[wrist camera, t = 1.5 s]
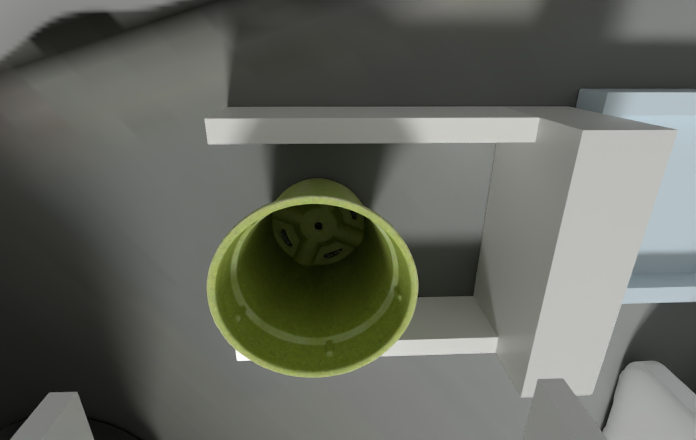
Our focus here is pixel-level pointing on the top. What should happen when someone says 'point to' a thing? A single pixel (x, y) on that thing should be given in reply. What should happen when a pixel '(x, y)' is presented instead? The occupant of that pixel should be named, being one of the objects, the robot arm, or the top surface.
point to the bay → (514, 223)
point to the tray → (661, 192)
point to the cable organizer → (651, 405)
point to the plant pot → (312, 283)
